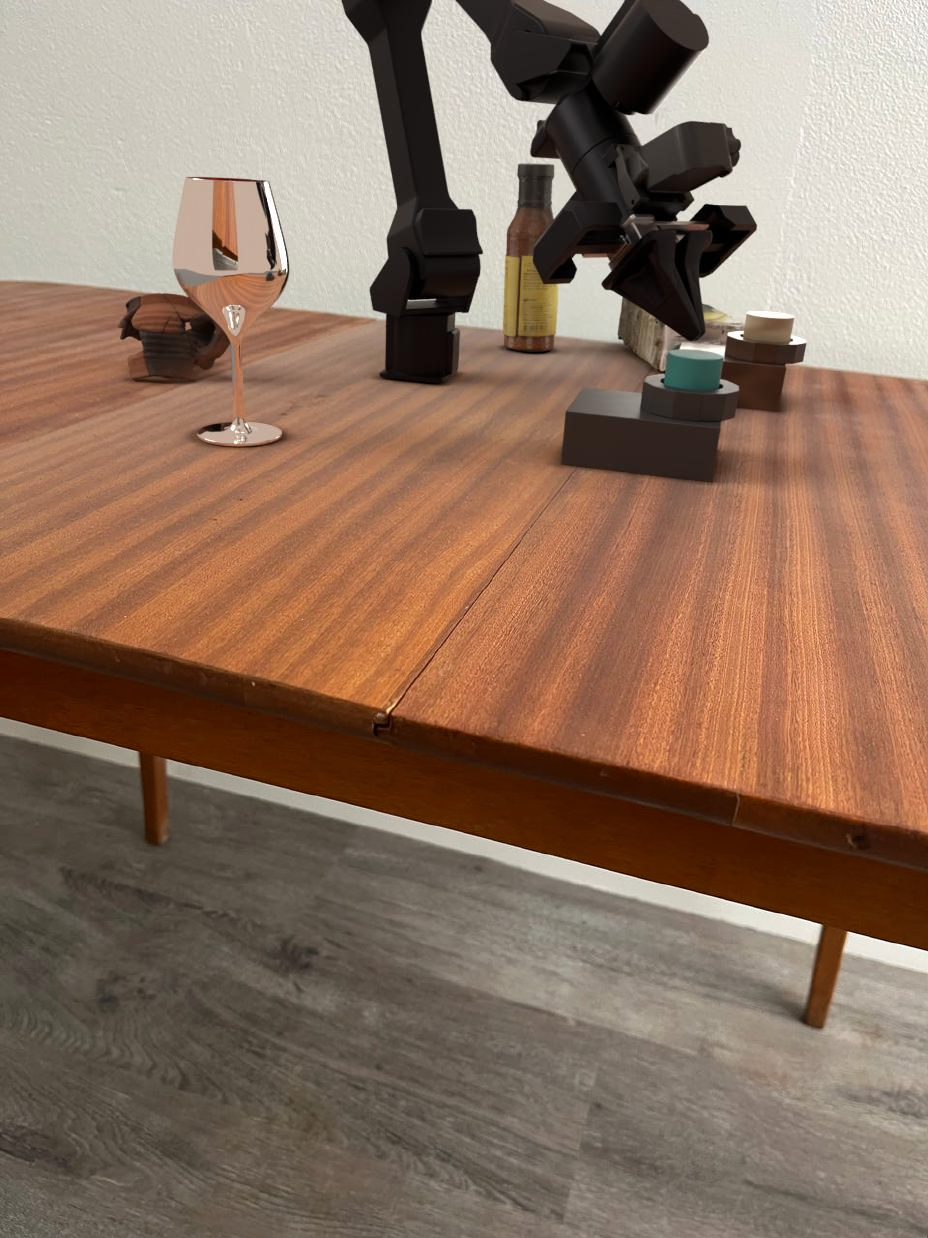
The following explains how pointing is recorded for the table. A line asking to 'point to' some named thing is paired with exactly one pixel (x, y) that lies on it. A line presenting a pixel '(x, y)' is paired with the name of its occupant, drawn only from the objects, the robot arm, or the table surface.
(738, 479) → the table surface
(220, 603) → the table surface
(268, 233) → the wineglass
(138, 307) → the pottery mug
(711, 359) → the teal button
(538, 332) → the sauce bottle
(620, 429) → the dark brown block
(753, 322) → the bell button
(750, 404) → the base
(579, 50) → the robot arm
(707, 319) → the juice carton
